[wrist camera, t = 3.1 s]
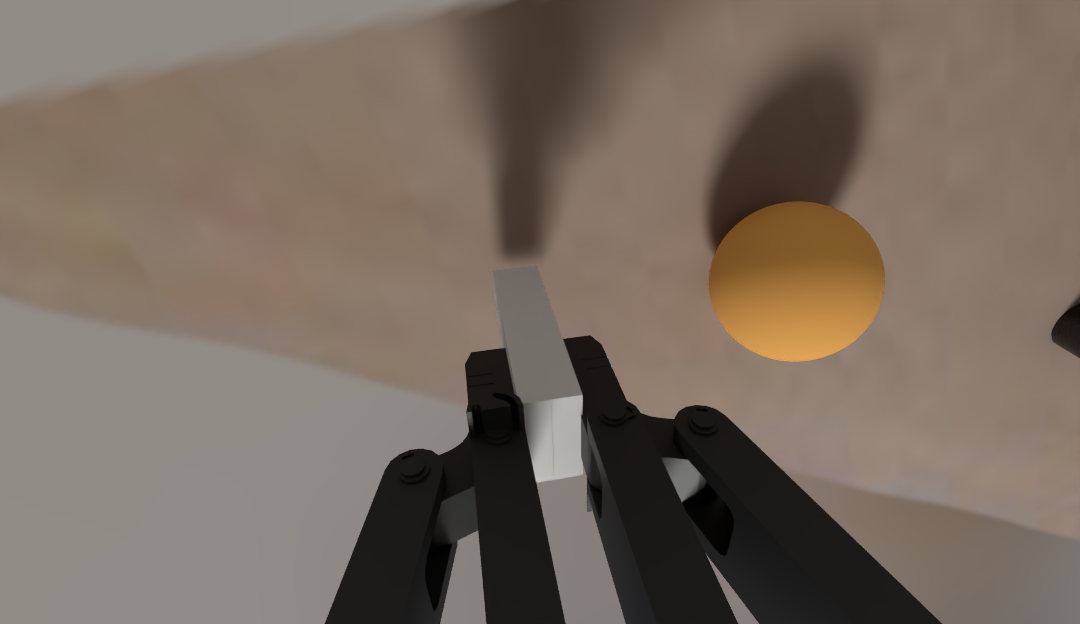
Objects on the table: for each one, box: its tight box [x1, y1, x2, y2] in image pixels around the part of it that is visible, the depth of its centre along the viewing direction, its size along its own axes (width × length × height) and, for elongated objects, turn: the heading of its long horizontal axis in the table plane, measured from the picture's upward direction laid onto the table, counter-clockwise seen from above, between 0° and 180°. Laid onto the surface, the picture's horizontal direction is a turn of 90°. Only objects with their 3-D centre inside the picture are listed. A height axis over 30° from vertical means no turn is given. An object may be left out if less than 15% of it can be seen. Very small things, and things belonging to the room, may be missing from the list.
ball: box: [709, 201, 885, 361], centre depth 19 cm, size 6×6×6 cm
